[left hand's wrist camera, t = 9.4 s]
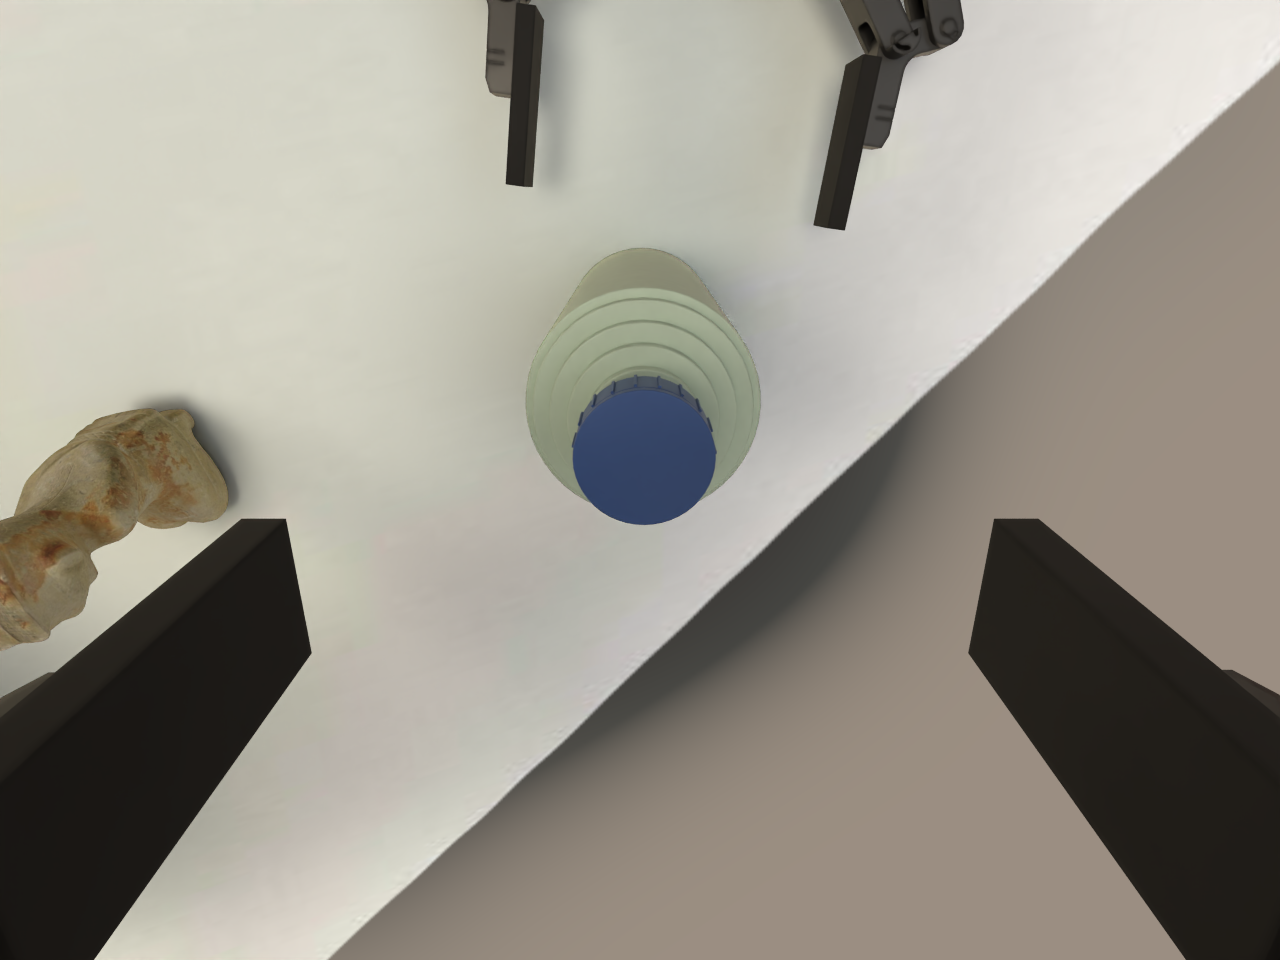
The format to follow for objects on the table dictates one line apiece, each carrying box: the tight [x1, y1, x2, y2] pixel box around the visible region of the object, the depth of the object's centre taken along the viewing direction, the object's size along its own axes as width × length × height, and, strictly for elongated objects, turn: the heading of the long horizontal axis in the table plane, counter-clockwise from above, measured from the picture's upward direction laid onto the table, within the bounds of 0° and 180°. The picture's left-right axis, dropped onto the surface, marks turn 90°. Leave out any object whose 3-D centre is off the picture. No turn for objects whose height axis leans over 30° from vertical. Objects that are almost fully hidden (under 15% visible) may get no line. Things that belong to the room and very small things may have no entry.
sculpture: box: [0, 409, 228, 651], centre depth 36 cm, size 6×7×15 cm
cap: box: [572, 375, 717, 525], centre depth 20 cm, size 4×4×2 cm
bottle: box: [526, 248, 760, 503], centre depth 30 cm, size 8×8×22 cm
